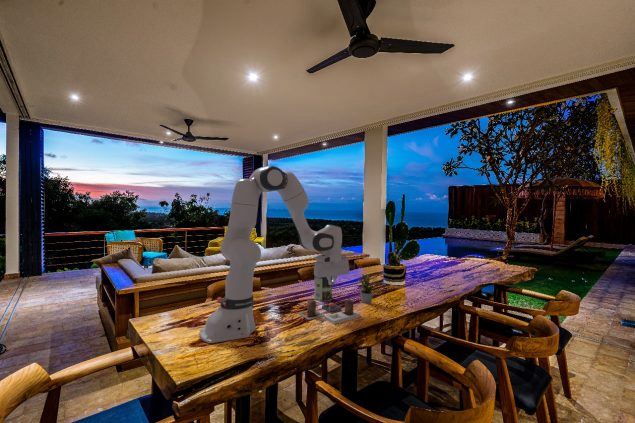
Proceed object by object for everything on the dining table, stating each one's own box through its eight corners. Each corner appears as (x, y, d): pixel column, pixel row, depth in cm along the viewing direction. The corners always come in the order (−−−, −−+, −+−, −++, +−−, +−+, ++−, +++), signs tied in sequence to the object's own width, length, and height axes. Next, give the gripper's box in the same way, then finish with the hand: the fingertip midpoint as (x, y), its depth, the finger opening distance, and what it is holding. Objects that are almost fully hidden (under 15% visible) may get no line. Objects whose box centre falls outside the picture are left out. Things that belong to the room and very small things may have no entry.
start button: (331, 310, 148) (331, 304, 148) (327, 308, 150) (327, 303, 150) (335, 309, 149) (335, 303, 149) (332, 307, 152) (332, 302, 151)
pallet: (333, 326, 131) (333, 320, 131) (324, 321, 136) (324, 315, 136) (360, 319, 140) (360, 313, 140) (350, 314, 146) (350, 309, 146)
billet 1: (310, 318, 138) (310, 303, 138) (305, 315, 142) (305, 300, 142) (317, 316, 141) (317, 301, 141) (312, 313, 144) (312, 299, 144)
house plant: (347, 299, 169) (348, 271, 169) (369, 297, 173) (370, 269, 173) (358, 307, 155) (359, 276, 155) (382, 305, 160) (382, 275, 159)
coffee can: (333, 297, 173) (333, 273, 173) (330, 302, 163) (331, 277, 163) (316, 295, 175) (316, 272, 175) (312, 301, 165) (312, 276, 165)
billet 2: (348, 318, 138) (348, 303, 137) (342, 315, 141) (343, 301, 141) (354, 316, 140) (355, 302, 140) (349, 314, 143) (349, 299, 143)
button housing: (330, 314, 145) (330, 309, 145) (321, 310, 150) (321, 305, 150) (341, 312, 149) (341, 307, 149) (332, 307, 154) (332, 303, 154)
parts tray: (308, 322, 135) (308, 318, 135) (298, 315, 142) (298, 312, 142) (324, 318, 140) (324, 314, 140) (313, 312, 147) (313, 309, 147)
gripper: (344, 254, 158) (343, 280, 158) (312, 257, 146) (311, 285, 146) (352, 256, 152) (351, 283, 153) (320, 259, 141) (319, 288, 141)
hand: (331, 284), depth 149 cm, fingers closed
